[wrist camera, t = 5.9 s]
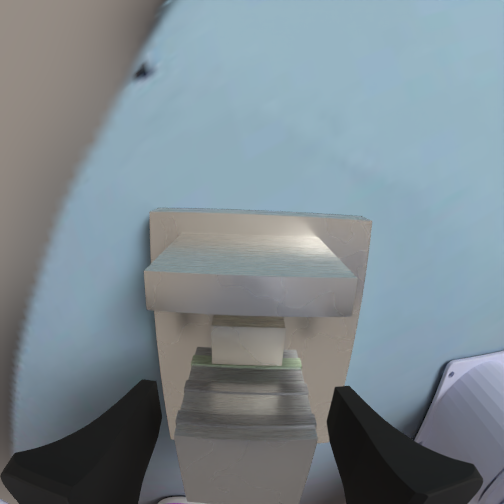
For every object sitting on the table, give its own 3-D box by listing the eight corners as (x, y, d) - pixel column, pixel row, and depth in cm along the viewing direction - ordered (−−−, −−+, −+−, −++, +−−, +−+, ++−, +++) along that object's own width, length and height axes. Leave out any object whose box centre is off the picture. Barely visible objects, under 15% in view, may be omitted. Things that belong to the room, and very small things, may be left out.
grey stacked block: (287, 419, 14) (299, 504, 9) (200, 417, 13) (185, 502, 9) (297, 348, 13) (320, 437, 8) (195, 345, 12) (172, 433, 8)
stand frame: (324, 427, 19) (346, 508, 12) (174, 423, 19) (154, 506, 12) (361, 216, 15) (434, 251, 9) (158, 207, 15) (94, 237, 8)
